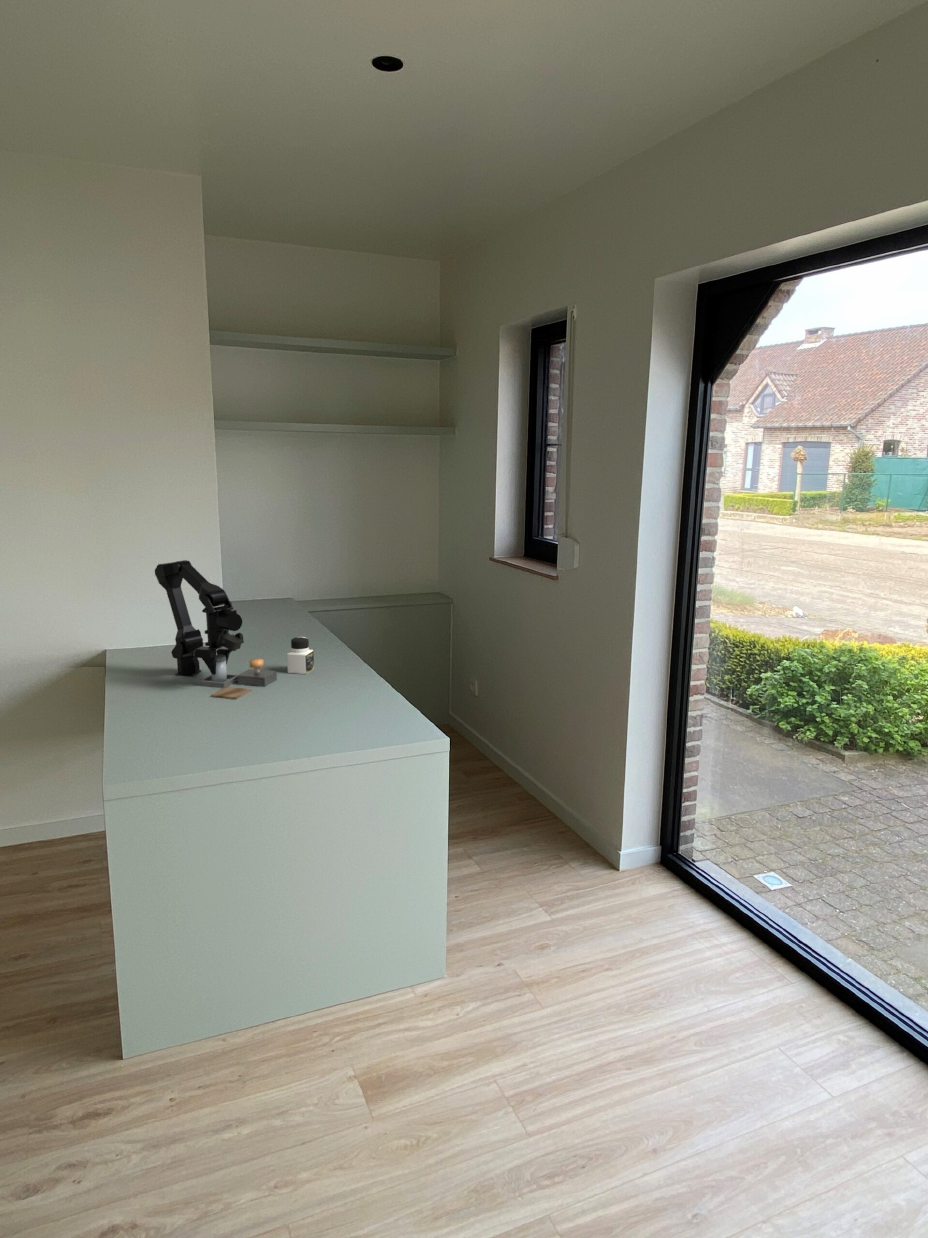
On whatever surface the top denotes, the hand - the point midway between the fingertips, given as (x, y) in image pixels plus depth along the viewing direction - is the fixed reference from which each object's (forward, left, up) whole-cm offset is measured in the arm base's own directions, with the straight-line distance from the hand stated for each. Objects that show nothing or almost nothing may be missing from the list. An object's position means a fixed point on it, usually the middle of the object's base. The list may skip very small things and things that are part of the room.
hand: (218, 672), depth 267 cm
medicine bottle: (+20, +20, -4) cm, 29 cm away
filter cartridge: (0, 0, -4) cm, 4 cm away
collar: (0, 0, -4) cm, 4 cm away
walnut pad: (+11, -10, -4) cm, 15 cm away
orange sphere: (+12, +4, -1) cm, 13 cm away
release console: (+12, +4, -4) cm, 13 cm away
